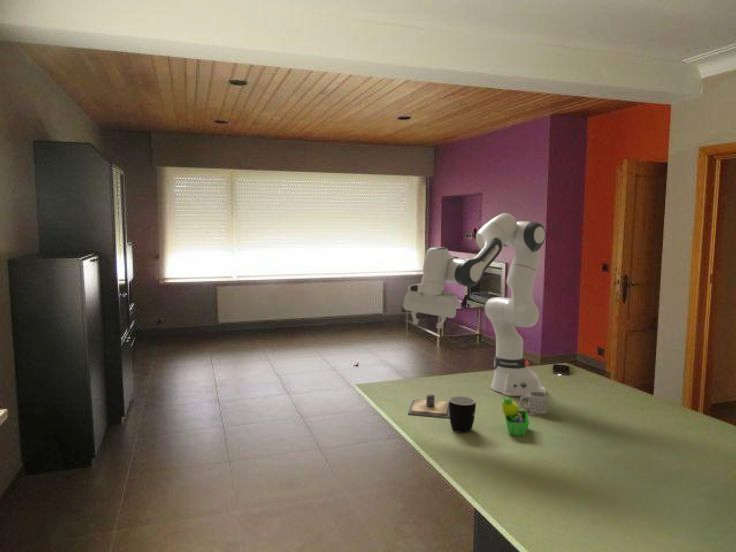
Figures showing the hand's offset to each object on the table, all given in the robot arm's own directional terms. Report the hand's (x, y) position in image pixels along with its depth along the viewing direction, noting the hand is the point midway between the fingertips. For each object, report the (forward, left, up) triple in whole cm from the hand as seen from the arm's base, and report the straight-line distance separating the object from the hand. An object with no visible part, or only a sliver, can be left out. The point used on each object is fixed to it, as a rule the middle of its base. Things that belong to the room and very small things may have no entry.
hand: (426, 325), depth 197 cm
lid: (-2, +1, -31) cm, 31 cm away
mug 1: (-14, +16, -32) cm, 38 cm away
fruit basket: (-32, +14, -32) cm, 48 cm away
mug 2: (-40, -7, -32) cm, 52 cm away
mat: (-2, +1, -32) cm, 32 cm away
